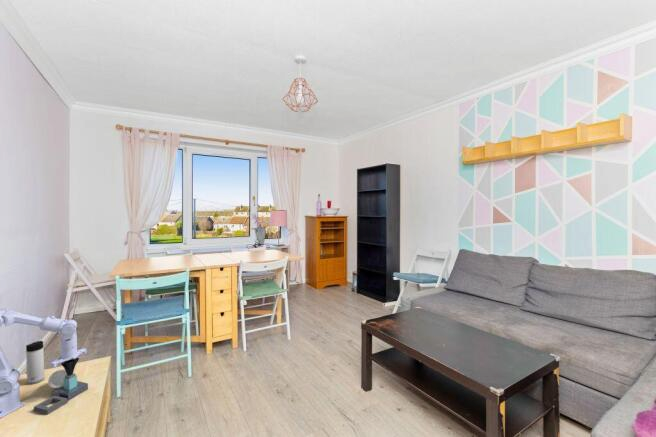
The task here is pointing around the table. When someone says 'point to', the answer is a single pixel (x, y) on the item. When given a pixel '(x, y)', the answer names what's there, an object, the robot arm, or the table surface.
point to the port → (70, 391)
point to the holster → (47, 410)
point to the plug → (70, 382)
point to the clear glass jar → (57, 379)
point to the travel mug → (35, 362)
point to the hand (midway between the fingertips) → (69, 374)
